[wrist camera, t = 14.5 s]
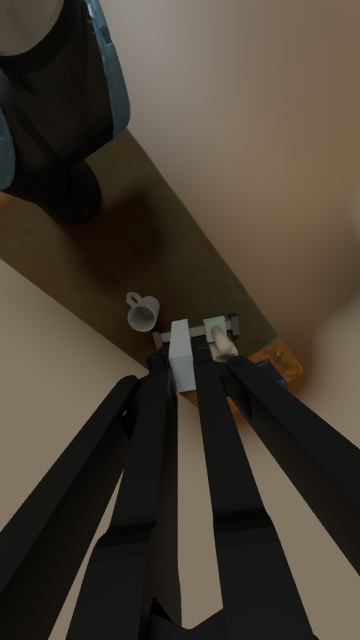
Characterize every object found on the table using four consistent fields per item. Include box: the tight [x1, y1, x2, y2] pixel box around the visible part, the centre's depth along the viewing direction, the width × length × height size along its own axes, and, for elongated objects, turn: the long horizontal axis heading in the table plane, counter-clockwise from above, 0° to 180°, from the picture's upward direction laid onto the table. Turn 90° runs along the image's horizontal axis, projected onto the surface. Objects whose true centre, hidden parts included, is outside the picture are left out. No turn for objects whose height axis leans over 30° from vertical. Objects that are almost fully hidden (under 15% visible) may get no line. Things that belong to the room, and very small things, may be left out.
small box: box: [255, 359, 289, 391], centre depth 55 cm, size 11×6×10 cm, turn 25°
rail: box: [152, 313, 240, 350], centre depth 52 cm, size 6×26×4 cm, turn 102°
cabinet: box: [208, 338, 238, 362], centre depth 52 cm, size 7×7×10 cm
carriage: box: [203, 316, 232, 355], centre depth 47 cm, size 7×6×14 cm
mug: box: [126, 292, 160, 332], centre depth 45 cm, size 10×7×12 cm, turn 36°
